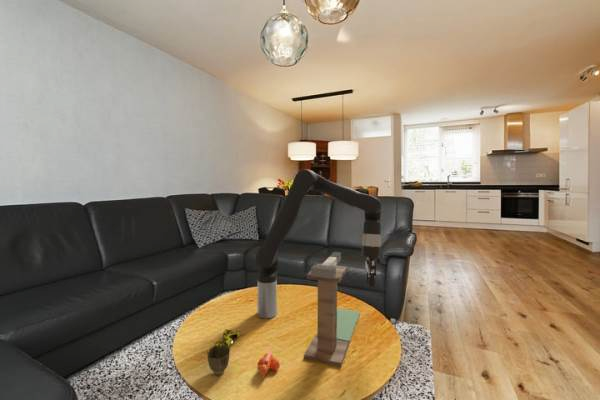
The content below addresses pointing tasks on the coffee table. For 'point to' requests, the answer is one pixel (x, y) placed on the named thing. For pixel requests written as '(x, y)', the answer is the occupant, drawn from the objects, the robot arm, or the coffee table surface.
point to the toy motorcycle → (227, 338)
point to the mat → (346, 324)
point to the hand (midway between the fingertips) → (370, 285)
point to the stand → (327, 323)
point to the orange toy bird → (267, 363)
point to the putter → (327, 267)
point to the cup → (218, 359)
